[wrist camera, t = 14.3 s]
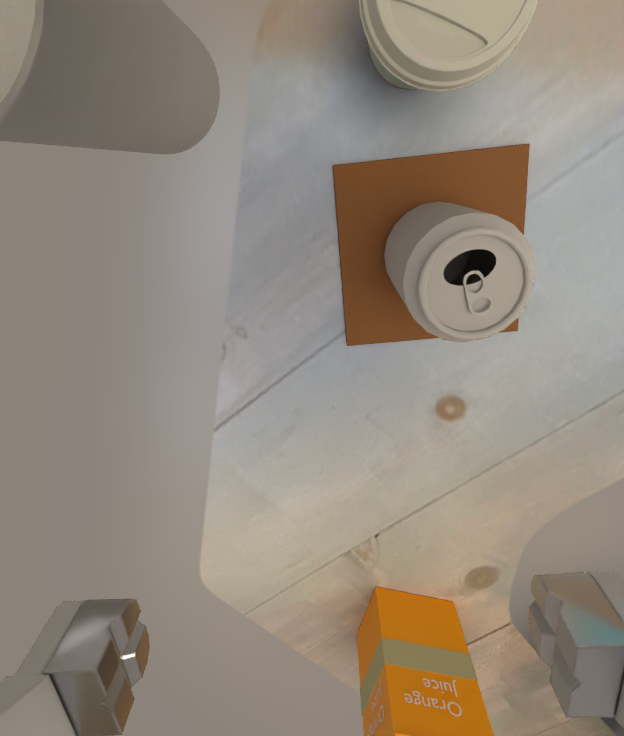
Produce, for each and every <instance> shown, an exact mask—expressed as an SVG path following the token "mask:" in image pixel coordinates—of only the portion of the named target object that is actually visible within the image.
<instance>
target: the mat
mask: <svg viewBox="0 0 624 736" xmlns="http://www.w3.org/2000/svg"><path fill="white" fill-rule="evenodd" d="M529 145H530V144H522V145H513V146H504V147H495V148H486V149H477V150H468V151H459V152H450V153H441V154H432V155H422V156H413V157H404V158H395V159H386V160H377V161H368V162H359V163H350V164H341V165H333V173H334V186H335V199H336V211H337V224H338V237H339V250H340V262H341V275H342V288H343V301H344V313H345V326H346V339H347V346H351V345H362V344H373V343H385V342H396V341H407V340H419V339H430V338H439V337H437V336H435V335H433V334H431V333H428V332H427V331H426V330H425V329H424V328H423V327H422V326H420V325H419V324H418V323H417V322H416V321H415V320H414V319H413V317H412V315H411V314H410V312H409V310H408V309H407V307H406V305H405V303H404V302H403V300H402V298H401V297H400V295H399V293H398V292H397V290H396V288H395V287H394V285H393V283H392V281H391V279H390V277H389V275H388V273H387V271H386V265H385V258H384V253H385V248H386V242H387V239H388V237H389V235H390V233H391V231H392V229H393V227H394V225H395V224H396V223H397V222H398V221H399V220H400V219H401V218H402V217H403V216H404V215H405V214H406V213H407V212H409V211H410V210H412V209H414V208H416V207H418V206H419V205H422V204H427V203H432V202H437V201H438V202H445V203H453V204H457V205H460V206H464V207H468V208H471V209H475V210H479V211H482V212H486V213H490V214H494V215H497V216H498V217H500V218H502V219H504V220H506V221H508V222H510V223H512V224H514V225H515V226H516V227H517V229H518V230H519V231H520V232H521V233H522V234H523V235H524V223H525V207H526V192H527V176H528V160H529ZM510 331H518V318H517V319H516V320H515V321H513V322H512V323H511V324H510V325H509V326H508V327H507V328H505V329H504V330H502V331H500V332H510Z"/></svg>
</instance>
